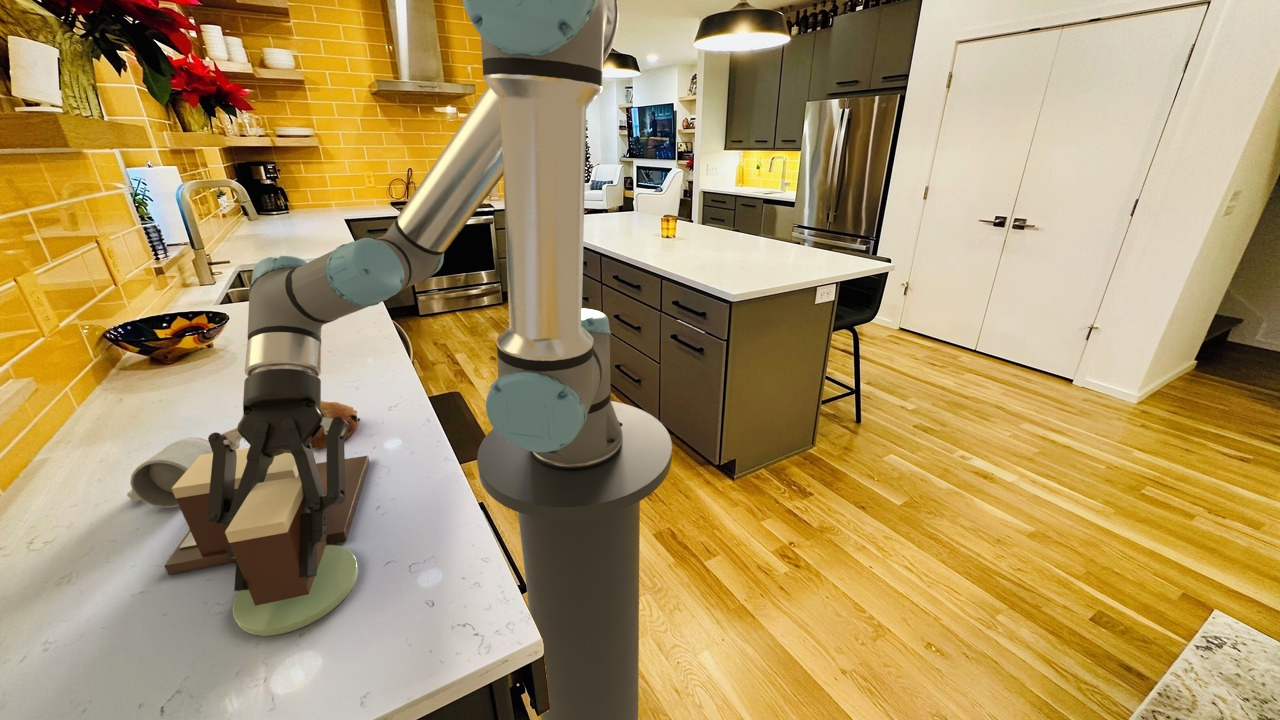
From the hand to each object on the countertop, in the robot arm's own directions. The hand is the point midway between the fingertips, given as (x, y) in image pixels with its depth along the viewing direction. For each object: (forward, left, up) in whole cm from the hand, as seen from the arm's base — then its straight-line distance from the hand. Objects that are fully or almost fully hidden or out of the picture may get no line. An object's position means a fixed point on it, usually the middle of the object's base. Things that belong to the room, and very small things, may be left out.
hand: (277, 582), depth 53 cm
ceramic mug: (+22, -29, -5) cm, 36 cm away
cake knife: (+14, -20, -3) cm, 24 cm away
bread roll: (+5, -41, -5) cm, 41 cm away
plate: (0, -4, -5) cm, 6 cm away
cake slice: (0, -4, -2) cm, 4 cm away
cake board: (+6, -20, -5) cm, 21 cm away
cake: (+6, -15, -3) cm, 16 cm away
